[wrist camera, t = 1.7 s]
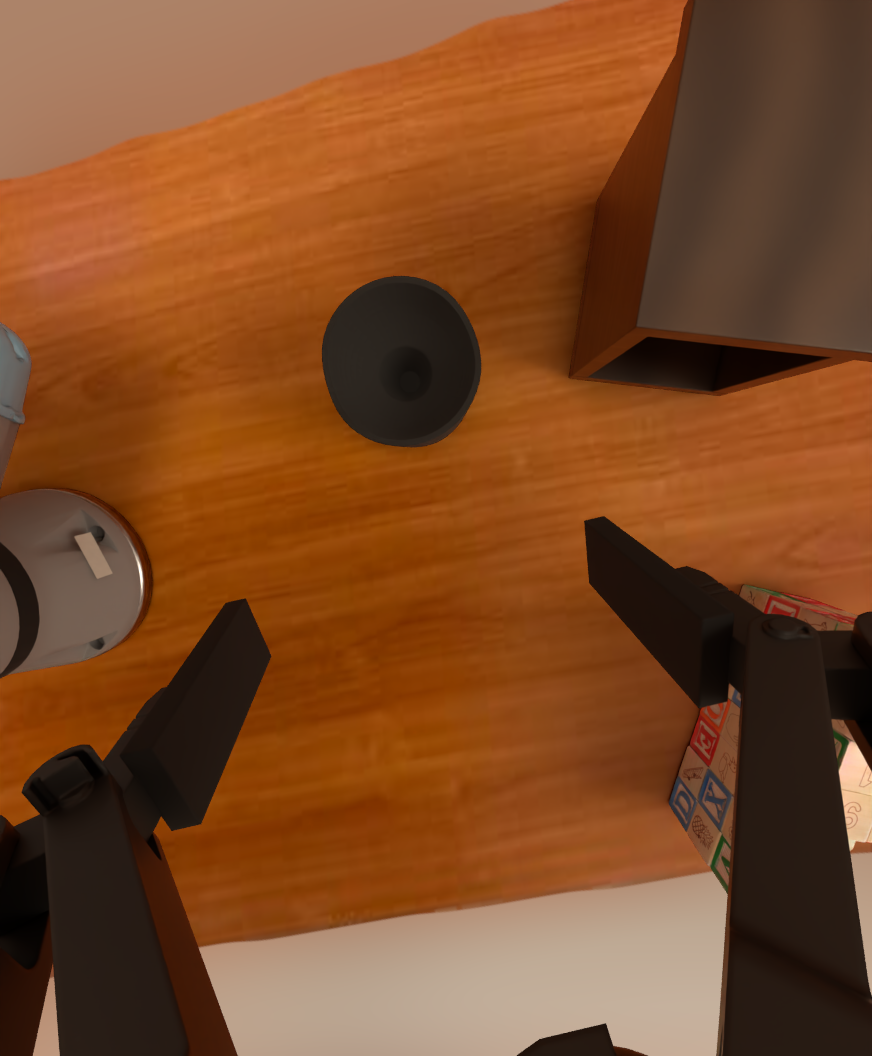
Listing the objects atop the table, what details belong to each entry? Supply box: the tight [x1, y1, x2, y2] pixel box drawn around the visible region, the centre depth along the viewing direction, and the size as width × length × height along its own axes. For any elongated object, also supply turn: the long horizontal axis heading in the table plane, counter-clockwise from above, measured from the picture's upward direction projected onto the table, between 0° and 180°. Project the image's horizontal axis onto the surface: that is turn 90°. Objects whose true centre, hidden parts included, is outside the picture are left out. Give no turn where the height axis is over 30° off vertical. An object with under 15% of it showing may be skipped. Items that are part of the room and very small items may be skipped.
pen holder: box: [322, 276, 481, 447], centre depth 29 cm, size 9×9×10 cm
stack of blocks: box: [669, 585, 872, 894], centre depth 31 cm, size 21×6×12 cm, turn 168°
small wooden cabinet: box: [569, 0, 872, 396], centre depth 26 cm, size 13×14×14 cm
